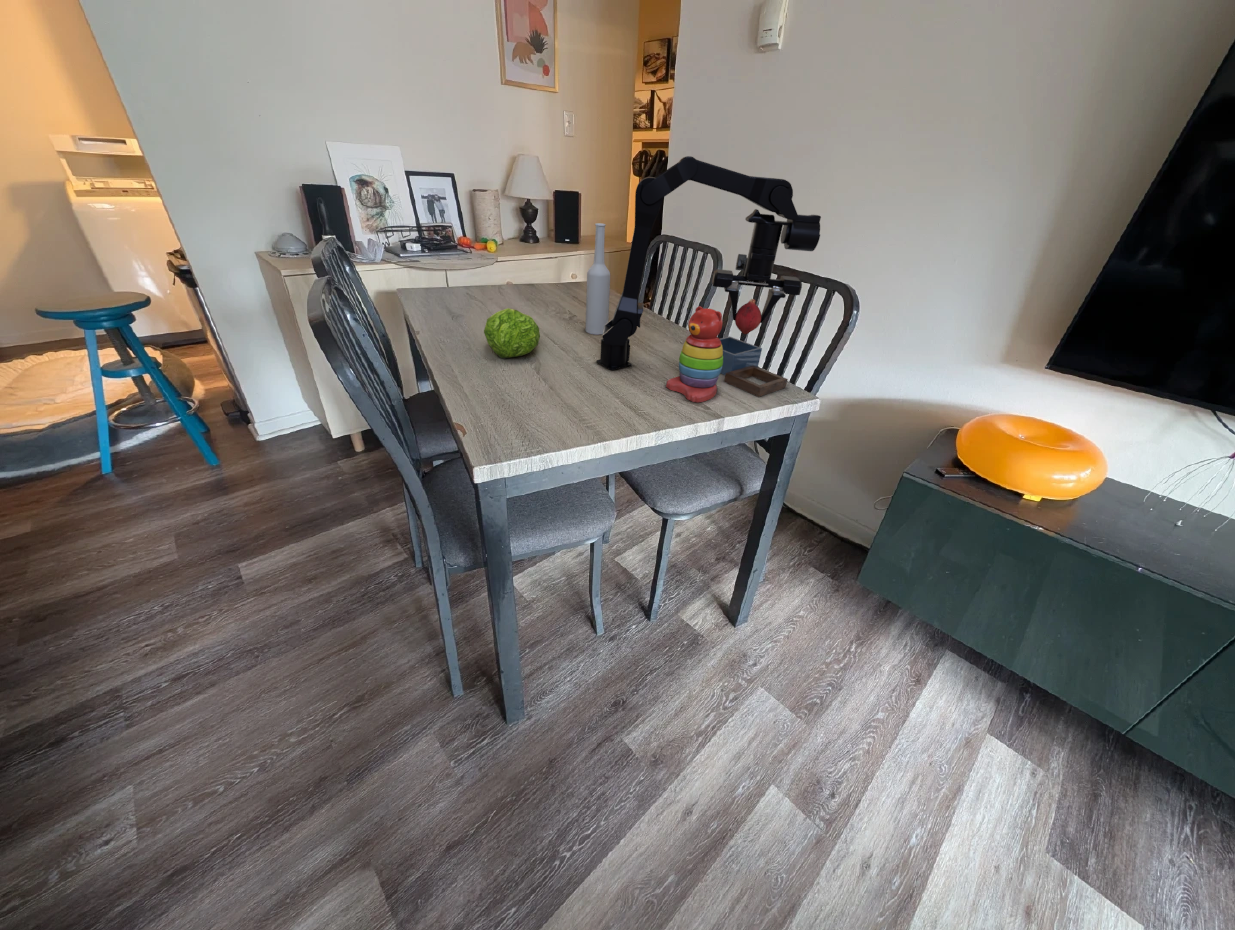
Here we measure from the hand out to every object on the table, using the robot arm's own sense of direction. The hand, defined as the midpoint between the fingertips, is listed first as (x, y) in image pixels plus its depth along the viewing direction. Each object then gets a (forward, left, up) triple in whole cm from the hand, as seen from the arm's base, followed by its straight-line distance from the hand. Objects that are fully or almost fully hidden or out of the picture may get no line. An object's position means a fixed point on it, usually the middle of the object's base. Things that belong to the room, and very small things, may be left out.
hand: (747, 321), depth 108 cm
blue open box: (+2, +4, -13) cm, 13 cm away
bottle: (-11, +43, -13) cm, 47 cm away
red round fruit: (0, 0, -3) cm, 3 cm away
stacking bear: (-17, -2, -13) cm, 21 cm away
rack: (-2, -7, -13) cm, 15 cm away
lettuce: (-39, +42, -13) cm, 59 cm away
